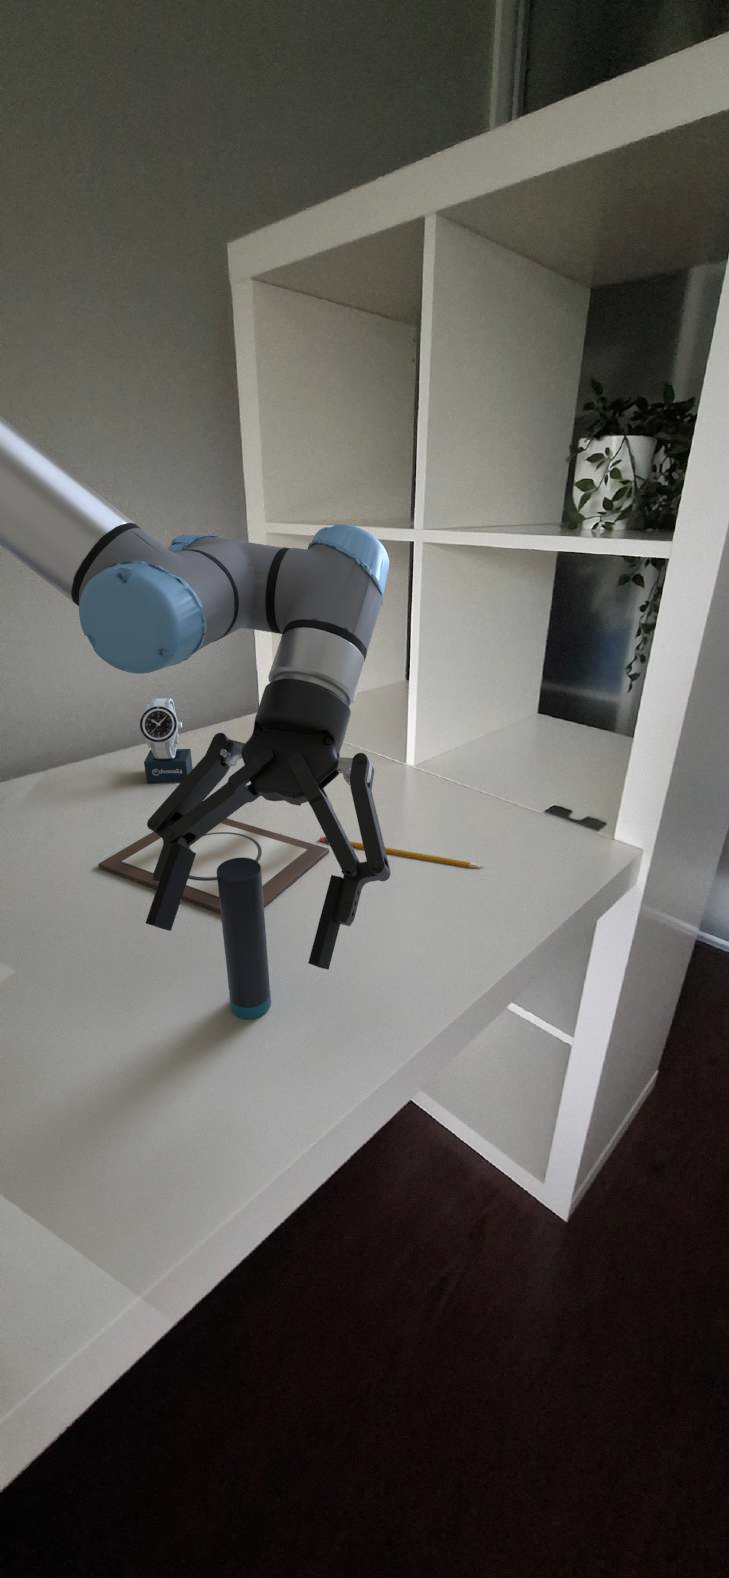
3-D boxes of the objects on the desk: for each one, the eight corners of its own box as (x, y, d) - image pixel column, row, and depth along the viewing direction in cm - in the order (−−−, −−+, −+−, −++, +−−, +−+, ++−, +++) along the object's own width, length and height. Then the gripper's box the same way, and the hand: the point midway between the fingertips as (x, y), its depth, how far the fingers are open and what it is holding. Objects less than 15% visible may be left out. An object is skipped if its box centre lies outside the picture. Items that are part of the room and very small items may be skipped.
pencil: (319, 843, 80) (319, 837, 79) (321, 840, 80) (321, 834, 80) (482, 872, 74) (483, 865, 74) (484, 869, 75) (484, 862, 74)
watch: (144, 789, 92) (132, 711, 87) (155, 765, 99) (145, 691, 94) (186, 788, 92) (177, 710, 87) (195, 764, 99) (186, 690, 94)
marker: (222, 1010, 55) (206, 873, 49) (247, 985, 58) (235, 852, 52) (254, 1024, 54) (242, 885, 48) (278, 999, 56) (270, 864, 51)
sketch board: (98, 867, 74) (97, 862, 74) (193, 811, 86) (192, 806, 86) (246, 923, 65) (245, 917, 65) (329, 852, 77) (329, 846, 77)
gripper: (459, 733, 58) (403, 989, 51) (200, 700, 65) (123, 920, 59) (448, 691, 51) (382, 979, 45) (161, 659, 58) (69, 903, 52)
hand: (235, 946), depth 52 cm, fingers open, 13 cm apart
